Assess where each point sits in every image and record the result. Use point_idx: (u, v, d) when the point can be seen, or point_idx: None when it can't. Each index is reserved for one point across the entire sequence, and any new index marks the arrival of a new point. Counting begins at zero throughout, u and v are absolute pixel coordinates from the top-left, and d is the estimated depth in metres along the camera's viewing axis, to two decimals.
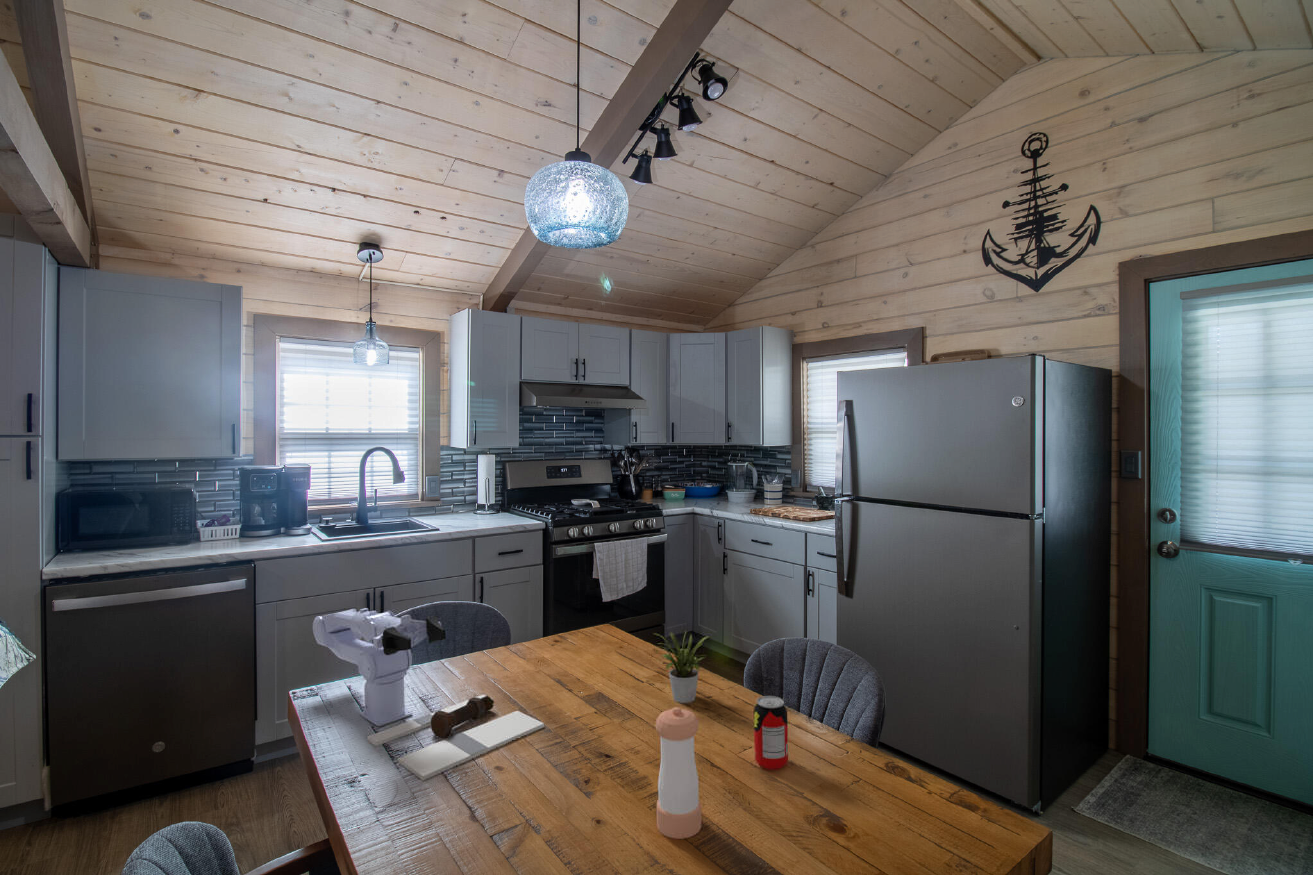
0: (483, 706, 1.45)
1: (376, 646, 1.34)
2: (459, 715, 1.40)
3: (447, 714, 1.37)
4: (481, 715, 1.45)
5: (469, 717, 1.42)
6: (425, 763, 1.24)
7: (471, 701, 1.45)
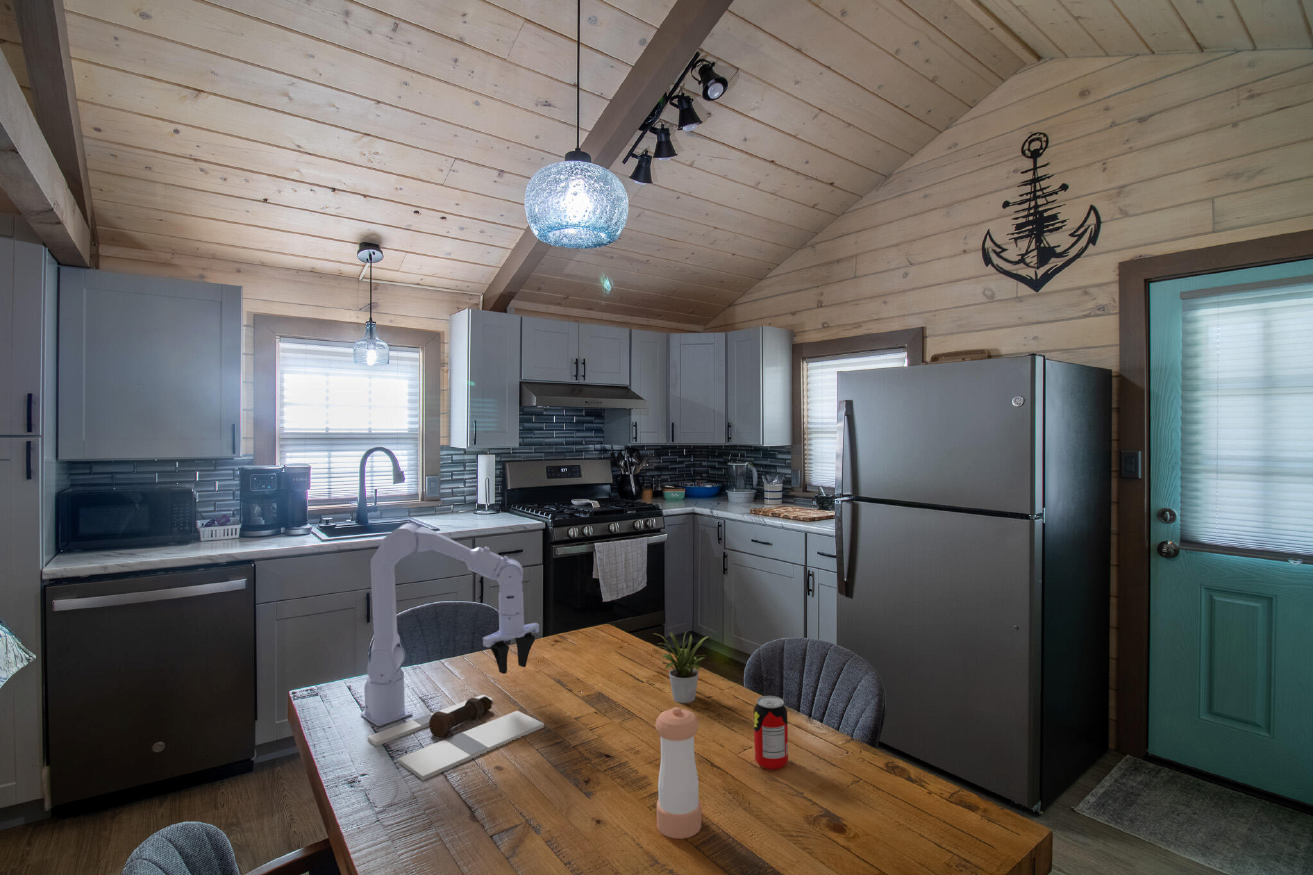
0: (481, 706, 1.45)
1: (483, 644, 1.47)
2: (457, 716, 1.40)
3: (446, 715, 1.37)
4: (479, 715, 1.45)
5: (467, 718, 1.42)
6: (425, 763, 1.24)
7: (469, 702, 1.45)
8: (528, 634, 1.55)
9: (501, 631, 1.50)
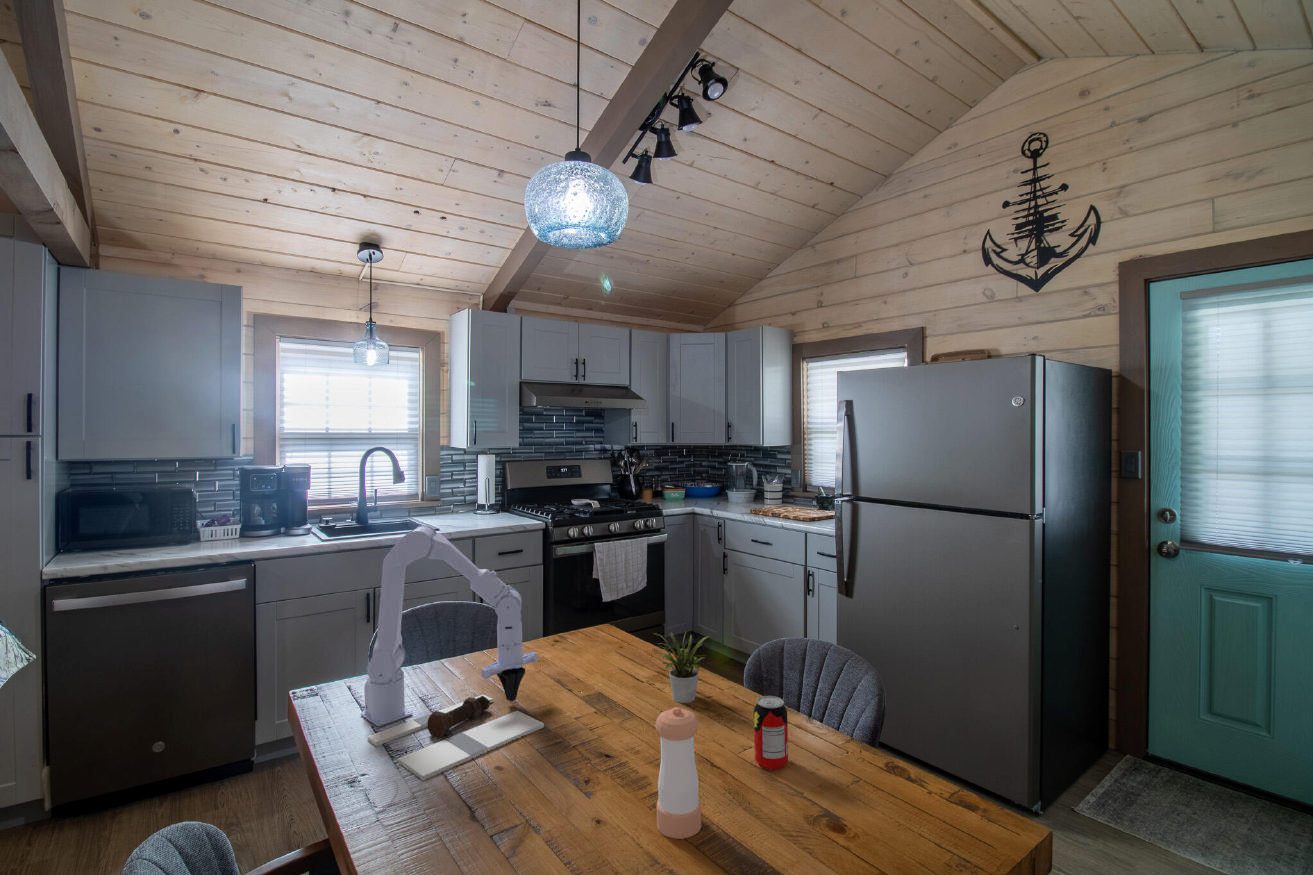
0: (479, 706, 1.45)
1: (482, 675, 1.47)
2: (455, 715, 1.40)
3: (444, 714, 1.37)
4: (477, 715, 1.45)
5: (466, 717, 1.42)
6: (425, 763, 1.24)
7: (467, 701, 1.45)
8: None
9: (499, 662, 1.50)
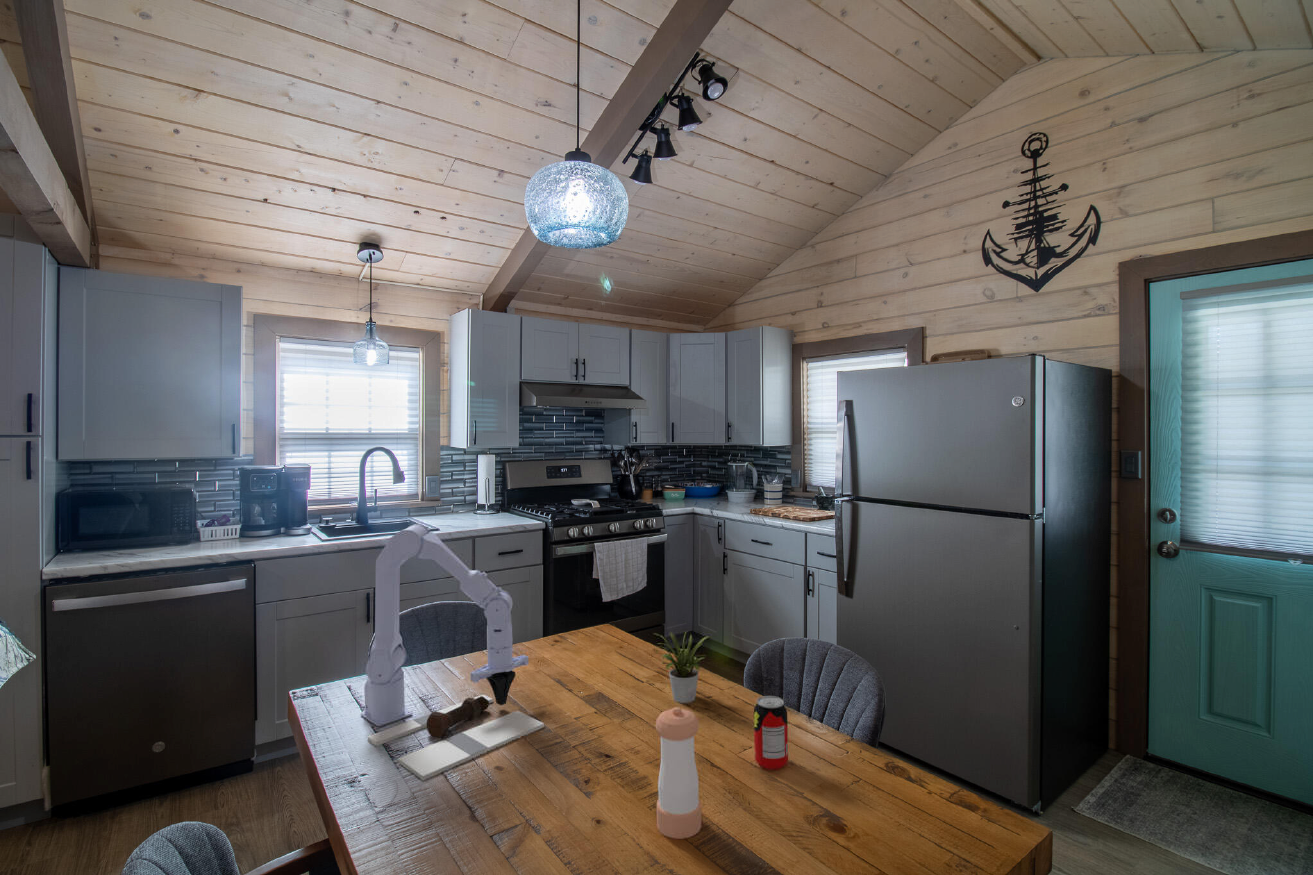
0: (478, 706, 1.45)
1: (471, 679, 1.45)
2: (454, 716, 1.40)
3: (443, 715, 1.37)
4: (476, 715, 1.45)
5: (465, 718, 1.42)
6: (425, 763, 1.24)
7: (466, 702, 1.45)
8: None
9: (489, 665, 1.48)
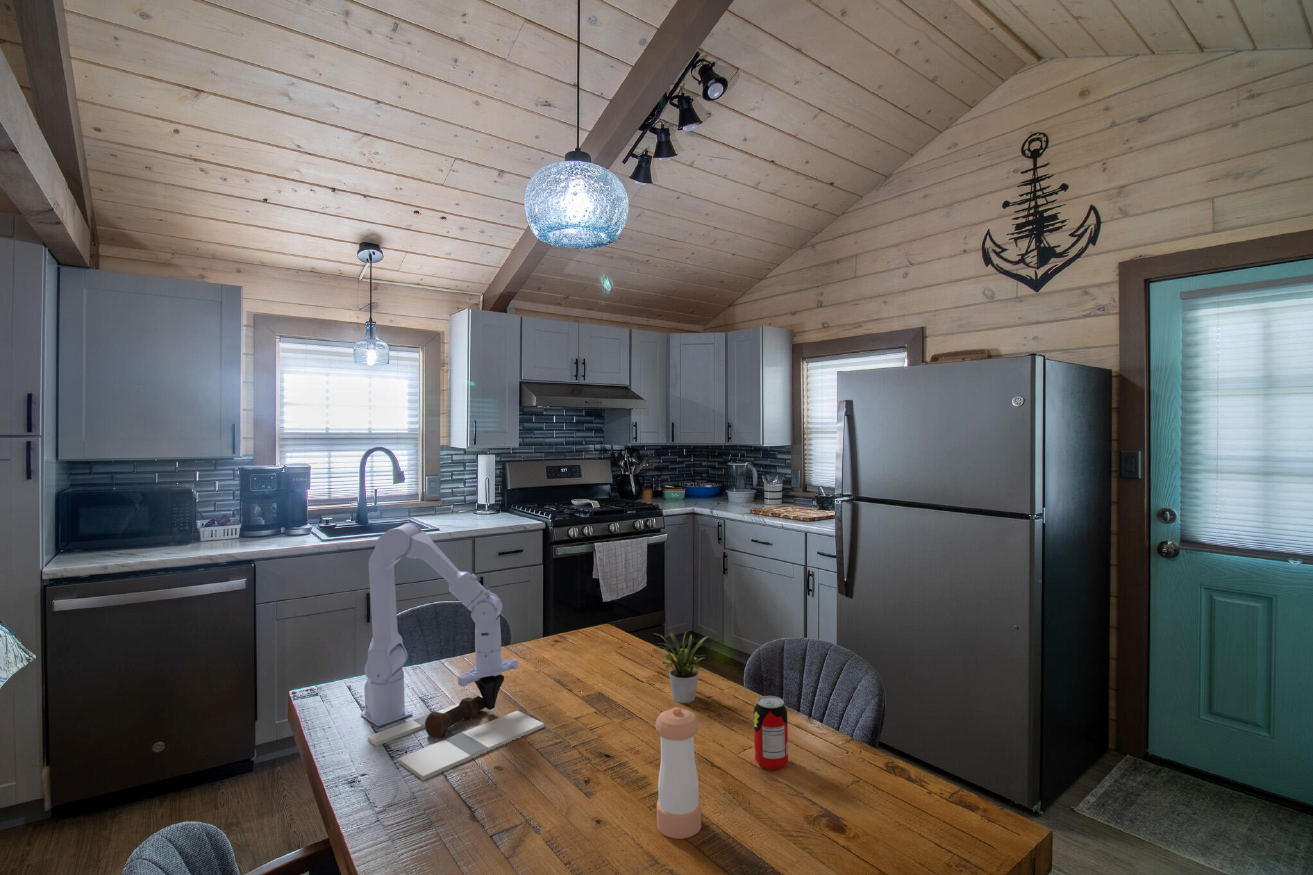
0: (476, 706, 1.45)
1: (459, 683, 1.42)
2: (453, 716, 1.40)
3: (442, 715, 1.37)
4: (474, 715, 1.45)
5: (463, 717, 1.42)
6: (425, 763, 1.24)
7: (464, 701, 1.45)
8: None
9: (477, 669, 1.45)
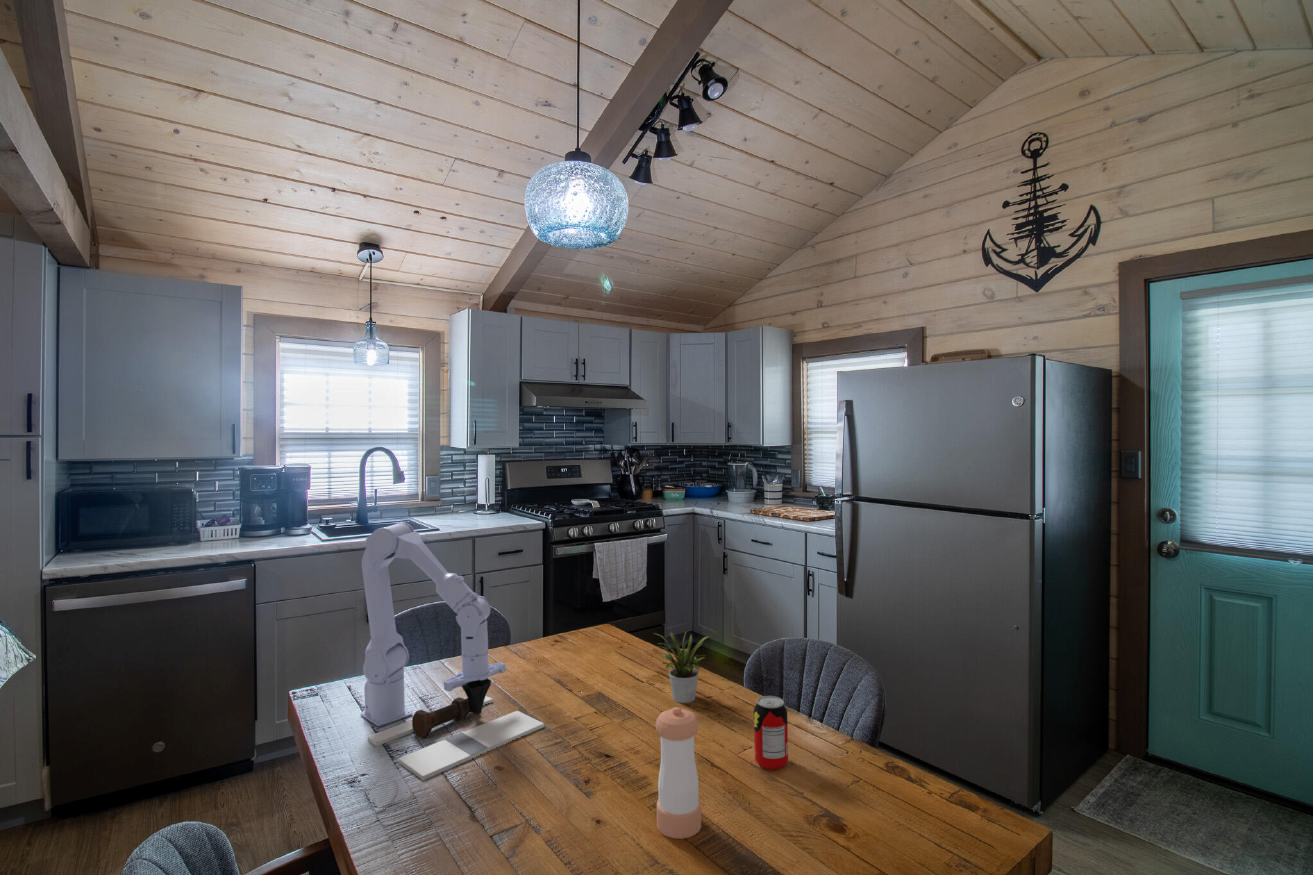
0: (467, 707, 1.44)
1: (444, 687, 1.40)
2: (440, 715, 1.40)
3: (427, 714, 1.37)
4: (465, 716, 1.44)
5: (451, 717, 1.42)
6: (425, 763, 1.24)
7: (455, 701, 1.45)
8: None
9: (464, 673, 1.43)
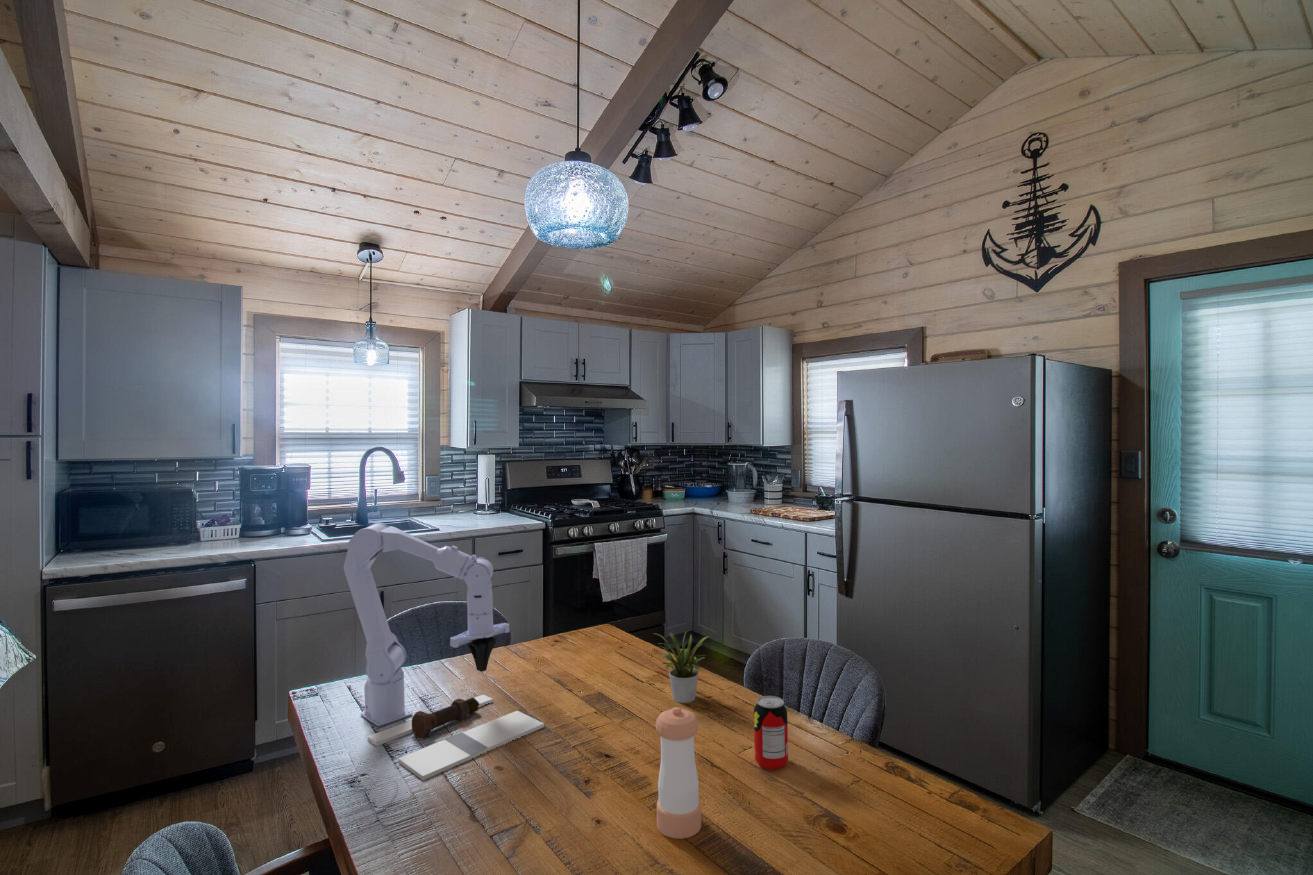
0: (466, 708, 1.44)
1: (451, 644, 1.44)
2: (439, 716, 1.40)
3: (426, 715, 1.37)
4: (464, 717, 1.44)
5: (451, 719, 1.42)
6: (425, 763, 1.24)
7: (455, 702, 1.45)
8: None
9: (469, 631, 1.47)
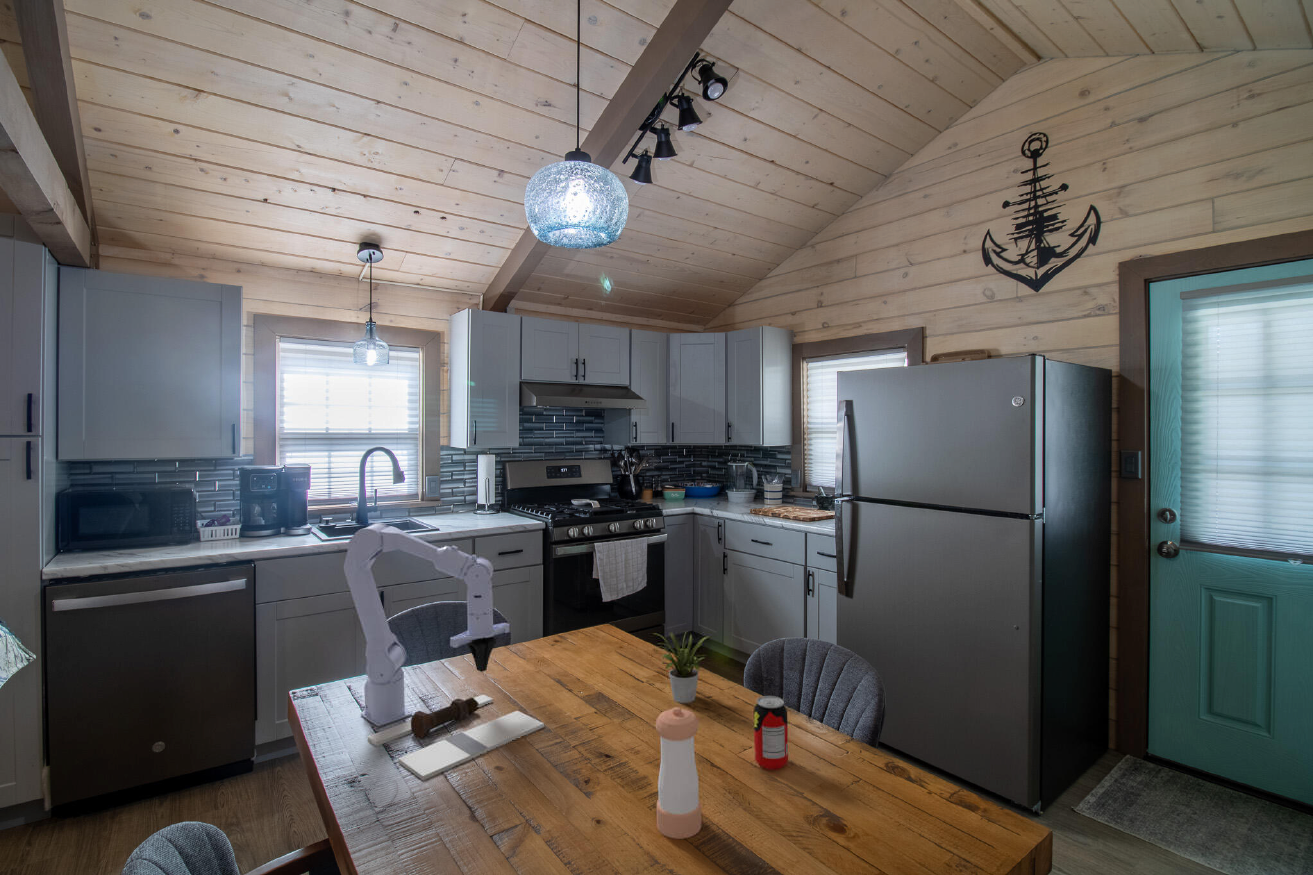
0: (466, 708, 1.44)
1: (451, 644, 1.44)
2: (439, 716, 1.39)
3: (426, 715, 1.37)
4: (463, 717, 1.44)
5: (450, 719, 1.42)
6: (425, 763, 1.24)
7: (454, 702, 1.45)
8: None
9: (469, 631, 1.47)
